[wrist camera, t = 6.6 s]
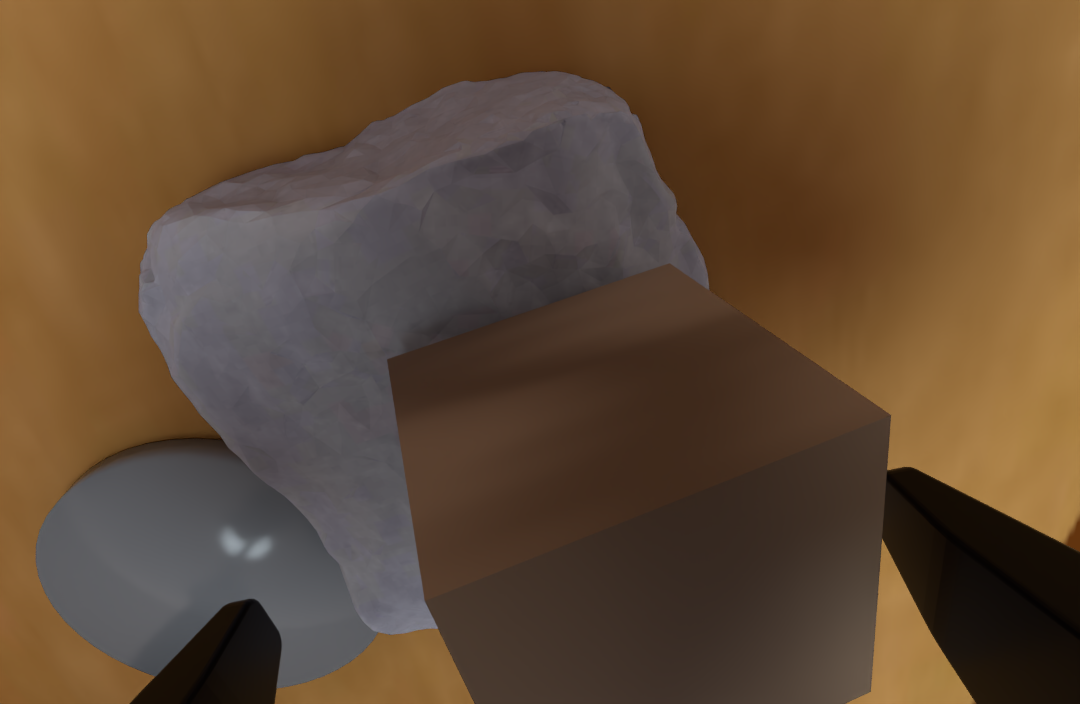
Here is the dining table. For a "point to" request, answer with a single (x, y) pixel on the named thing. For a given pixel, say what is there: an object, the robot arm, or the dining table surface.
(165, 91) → the dining table surface
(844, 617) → the walnut cube
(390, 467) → the stone block
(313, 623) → the slate coaster
